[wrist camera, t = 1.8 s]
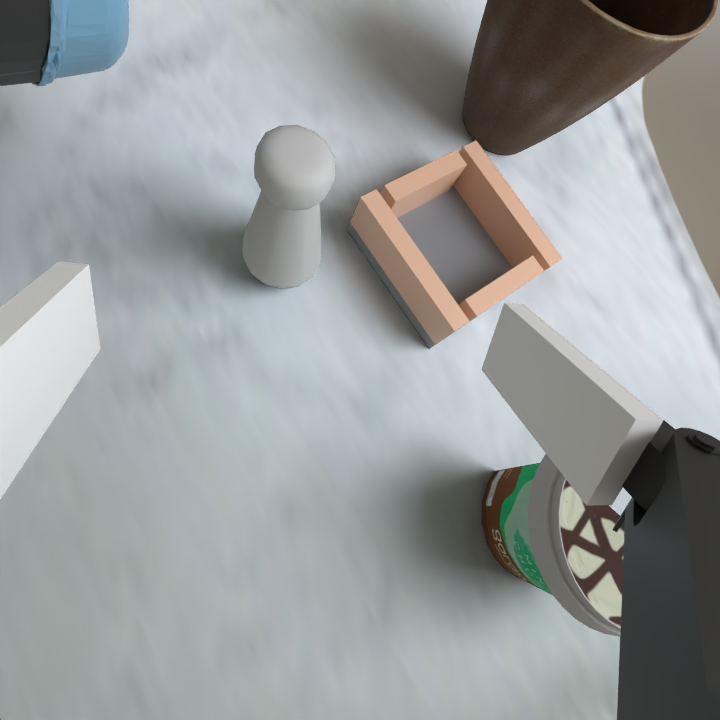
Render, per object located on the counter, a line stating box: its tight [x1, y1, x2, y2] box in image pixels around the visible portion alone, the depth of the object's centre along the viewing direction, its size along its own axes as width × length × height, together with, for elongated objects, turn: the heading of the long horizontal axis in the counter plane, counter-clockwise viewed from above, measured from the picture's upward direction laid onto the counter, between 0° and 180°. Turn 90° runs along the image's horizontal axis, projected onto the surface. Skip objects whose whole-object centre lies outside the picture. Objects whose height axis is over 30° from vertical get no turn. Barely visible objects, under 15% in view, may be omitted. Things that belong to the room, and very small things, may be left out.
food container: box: [482, 454, 625, 636], centre depth 29 cm, size 12×6×10 cm, turn 45°
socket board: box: [347, 141, 562, 349], centre depth 36 cm, size 12×12×5 cm
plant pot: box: [463, 0, 718, 155], centre depth 37 cm, size 15×15×16 cm
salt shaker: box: [242, 125, 335, 289], centre depth 29 cm, size 6×6×13 cm
